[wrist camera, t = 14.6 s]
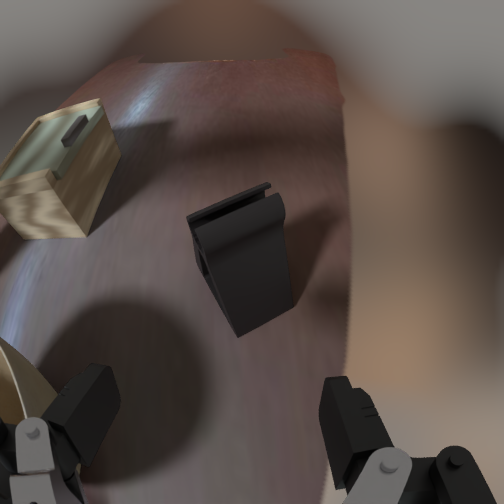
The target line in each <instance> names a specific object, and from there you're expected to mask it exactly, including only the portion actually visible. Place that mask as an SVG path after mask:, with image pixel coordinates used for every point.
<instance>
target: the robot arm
mask: <svg viewBox="0 0 504 504" xmlns="http://www.w3.org/2000/svg"><path fill="white" fill-rule="evenodd" d="M120 402H121V399H120V394H119V391H118V388H117V385H116V381H115V378H114V375H113V372H112V369H111V367H109V366H106V365H100V364H95V363H91V364H90V365H89V366H88V367H87V369H86V370H85V371H84V372H83V373H79V374H78V375H76V376H75V377H73V378H71V379H70V380H69V382H68V383H67V384H66V385H65V387H64V389H62V390H61V392H60V393H59V395H57V397H56V398H55V399H54V400H53V402H52V403H51V404H50V405H49V407H48V408H47V409H46V411H45V412H44V413H43V414H42V416H41V417H40V418H36V417H30V418H27V419H24V420H23V421H21V422H20V423H19V424H18V425H15V424H8V423H4V422H3V420H2V419H1V417H0V504H88V501H87V498H86V495H85V492H84V489H83V486H82V483H81V480H80V477H79V474H78V471H77V469H76V467H77V465H78V463H79V464H82V465H85V466H87V467H89V466H90V464H91V462H92V460H93V458H94V456H95V454H96V452H97V451H98V449H99V447H100V445H101V443H102V441H103V439H104V437H105V435H106V433H107V431H108V429H109V427H110V425H111V423H112V422H113V420H114V418H115V416H116V414H117V412H118V410H119V408H120ZM319 422H320V426H321V430H322V434H323V438H324V442H325V446H326V451H327V455H328V459H329V463H330V467H331V472H332V476H333V480H334V485H335V489H336V490H338V489H343V488H346V492H347V497H346V499H345V500H344V502H343V503H342V504H497V503H496V501H495V499H494V497H493V495H492V493H491V491H490V489H489V487H488V485H487V483H486V481H485V479H484V477H483V475H482V473H481V471H480V469H479V467H478V465H477V464H476V462H475V460H474V458H473V456H472V455H471V453H470V452H469V451H468V450H466V449H465V448H463V447H460V446H449V447H446V448H444V449H443V450H442V451H441V452H440V453H439V454H438V456H437V457H427V458H412V457H409V455H408V454H407V453H406V452H404V451H403V450H401V449H398V448H395V447H394V446H393V444H392V441H391V439H390V437H389V435H388V433H387V431H386V429H385V426H384V424H383V422H382V420H381V418H380V416H378V412H377V410H376V408H375V407H374V403H373V401H372V399H371V397H370V396H369V395H368V394H367V393H366V392H365V391H364V390H362V389H361V388H352V386H351V384H350V382H349V379H348V377H347V376H338V377H327V378H325V381H324V386H323V391H322V396H321V401H320V405H319Z"/></svg>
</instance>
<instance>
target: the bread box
mask: <svg viewBox="0 0 504 504" xmlns="http://www.w3.org/2000/svg"><path fill="white" fill-rule="evenodd" d="M120 157H121V152H120V150H119V147H118V144H117V142H116V139H115V137H114V134H113V131H112V129H111V126H110V123H109V121H108V118H107V115H106V112H105V110H104V107H103V104H102V101H101V98H99V99H95V100H91V101H87V102H84V103H80V104H77V105H73V106H70V107H67V108H64V109H61V110H58V111H55V112H52V113H49V114H46V115H43V116H40V117H38V118H37V119H36V120H35V121H34V122H33V123H32V124H31V126H30V127H29V128H28V129H27V131H26V132H25V133H24V134H23V135H22V137H21V138H20V139H19V140H18V142H17V143H16V145H15V146H14V147H13V148H12V150H11V151H10V152H9V154H8V155H7V157H6V158H5V159H4V161H3V162H2V164H1V165H0V213H1V214H2V215H3V216H4V218H5V219H6V220H7V221H8V222H9V223H10V225H11V226H12V227H13V228H14V229H15V230H16V231H17V232H18V234H19V235H20V236H21V237H22V238H23V239H24V240H26V239H51V238H79V237H87V236H88V233H89V230H90V227H91V225H92V222H93V219H94V217H95V214H96V211H97V209H98V206H99V204H100V202H101V199H102V197H103V194H104V192H105V190H106V187H107V185H108V183H109V181H110V178H111V176H112V174H113V172H114V170H115V168H116V166H117V163H118V161H119V159H120Z"/></svg>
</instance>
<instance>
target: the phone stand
mask: <svg viewBox="0 0 504 504" xmlns="http://www.w3.org/2000/svg"><path fill="white" fill-rule="evenodd" d="M269 188H271V184H270V183H268V182H266V183H263V184H261V185H258V186H256V187H253V188H251V189H248V190H246V191H244V192H241V193H239V194H236V195H234V196H232V197H229V198H227V199H225V200H222V201H220V202H218V203H215V204H213V205H211V206H208V207H206V208H204V209H202V210H199V211H197V212H195V213H193V214H191V215H188V216H186V218H187V222H188V225H189V228H190V231H191V234H192V238H193V244H194V251H195V257H196V263H197V265H198V267H199V269H200V271H201V273H202V275H203V277H204V278H205V280H206V282H207V284H208V286H209V288H210V290H211V291H212V293H213V295H214V297H215V299H216V300H217V302H218V304H219V306H220V308H221V310H222V311H223V313H224V315H225V317H226V319H227V320H228V322H229V324H230V326H231V327H232V329H233V331H234V333H235V334H236V336H237V338H239V337H240V336H242V335H244V334H246V333H248V332H250V331H252V330H254V329H255V328H257V327H259V326H261V325H263V324H265V323H266V322H268V321H270V320H272V319H274V318H275V317H277V316H279V315H281V314H282V313H284V312H286V311H288V310H289V309H291V308H293V299H292V291H291V284H290V276H289V268H288V261H287V254H286V247H285V240H284V233H283V224H284V220H285V207H284V204H283V201H282V198H281V196H280V194H279V193H275V194H273V195H271V196H268V197H266V198H265V190H266V189H269Z"/></svg>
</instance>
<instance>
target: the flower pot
mask: <svg viewBox="0 0 504 504" xmlns="http://www.w3.org/2000/svg"><path fill="white" fill-rule="evenodd" d="M57 395H58V394H57V393H56V391H55V390H54V389H53V387H52V386H51V385H50V384H49V383H48V381H47V380H46V379H45V378H44V377H43V375H42V374H41V373H40V372H39V371H38V370H37V369H36V368H35V367H34V366H33V365H32V364H31V363H30V362H29V361H28V360H27V359H26V358H25V357H24V356H23V355H22V354H20V353H19V352H18V351H17V350H16V349H15V348H13V347H12V346H11V345H10V344H8V343H7V342H6V341H5V340H3V339H2V338H1V337H0V417H1V419H2V420H3V422H4V423H8V424H15V425H18V424H19V423H20V422H21V421H23V420H24V419H27V418H30V417H36V418H40V417H41V416H42V414H43V413H44V412H45V411H46V409H47V408H48V407H49V405H50V404H51V403H52V402H53V400H54V399H55V398H56V397H57ZM80 468H81V464H79V463H78V465H77V467H76V469H77V471H78V474H80Z"/></svg>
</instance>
